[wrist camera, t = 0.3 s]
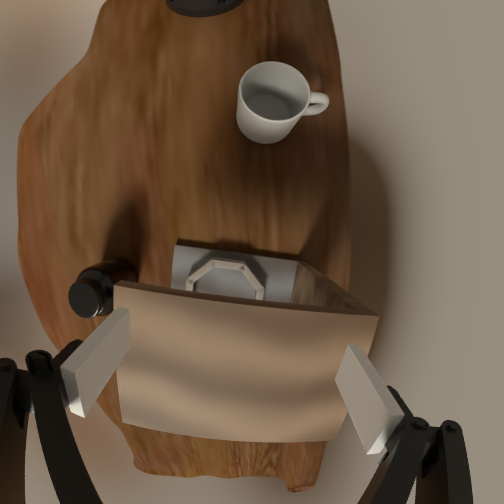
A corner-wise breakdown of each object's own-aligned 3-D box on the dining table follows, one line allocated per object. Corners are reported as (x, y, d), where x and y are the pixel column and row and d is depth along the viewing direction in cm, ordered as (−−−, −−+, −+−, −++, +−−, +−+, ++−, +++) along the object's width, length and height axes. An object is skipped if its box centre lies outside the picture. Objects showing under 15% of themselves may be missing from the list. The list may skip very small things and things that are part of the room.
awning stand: (175, 244, 41) (113, 285, 18) (305, 261, 43) (379, 316, 20) (169, 325, 43) (122, 422, 20) (290, 339, 45) (335, 439, 22)
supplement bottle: (116, 247, 41) (79, 260, 29) (146, 278, 42) (118, 302, 30) (92, 277, 41) (54, 298, 29) (121, 306, 42) (89, 336, 30)
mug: (238, 146, 40) (241, 125, 29) (234, 94, 39) (235, 61, 28) (317, 143, 41) (344, 123, 30) (310, 93, 39) (333, 62, 28)
